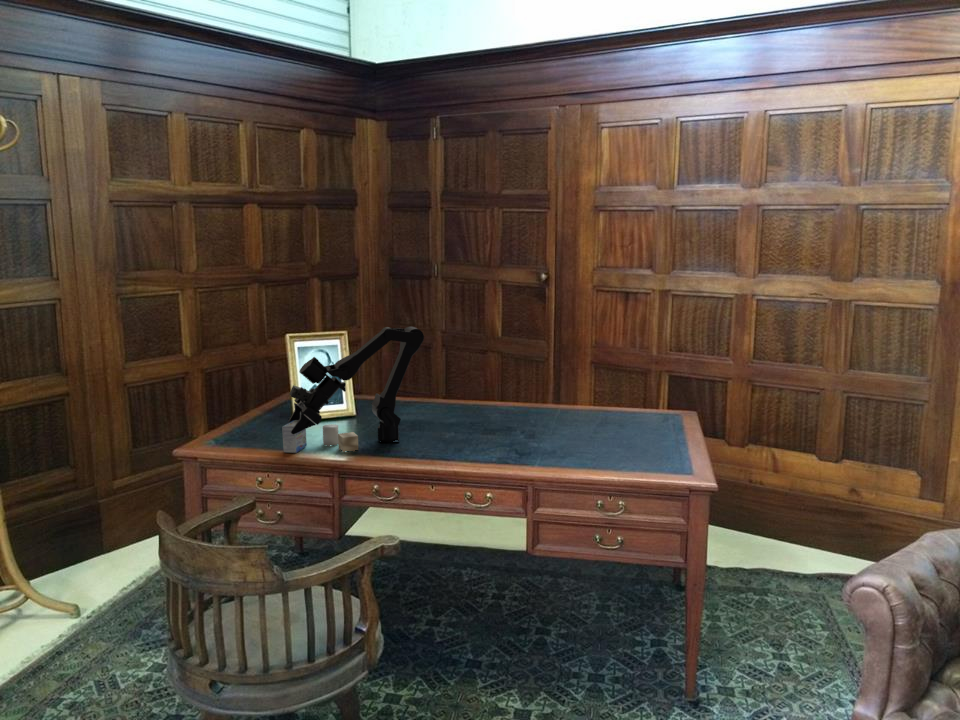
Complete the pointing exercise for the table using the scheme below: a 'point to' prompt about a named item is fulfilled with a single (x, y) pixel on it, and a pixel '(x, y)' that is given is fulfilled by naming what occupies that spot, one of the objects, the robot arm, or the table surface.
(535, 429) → the table surface
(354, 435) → the beech cube
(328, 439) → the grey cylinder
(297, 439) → the medicine box
